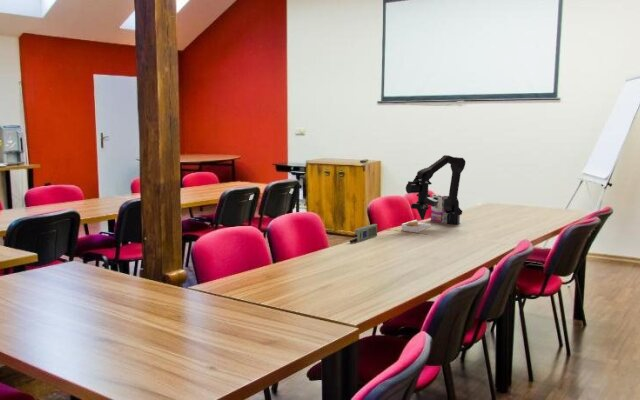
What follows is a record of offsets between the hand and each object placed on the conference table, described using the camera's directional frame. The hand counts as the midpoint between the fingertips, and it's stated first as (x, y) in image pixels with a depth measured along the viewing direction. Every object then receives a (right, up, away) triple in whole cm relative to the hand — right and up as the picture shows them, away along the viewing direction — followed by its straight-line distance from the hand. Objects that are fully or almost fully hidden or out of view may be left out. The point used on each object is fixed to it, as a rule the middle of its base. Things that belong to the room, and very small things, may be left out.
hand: (422, 219), depth 339 cm
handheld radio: (-37, -10, -34) cm, 51 cm away
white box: (-4, -5, -5) cm, 8 cm away
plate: (+4, -4, +6) cm, 8 cm away
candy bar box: (+13, -2, +19) cm, 24 cm away
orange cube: (-6, -3, -7) cm, 10 cm away
